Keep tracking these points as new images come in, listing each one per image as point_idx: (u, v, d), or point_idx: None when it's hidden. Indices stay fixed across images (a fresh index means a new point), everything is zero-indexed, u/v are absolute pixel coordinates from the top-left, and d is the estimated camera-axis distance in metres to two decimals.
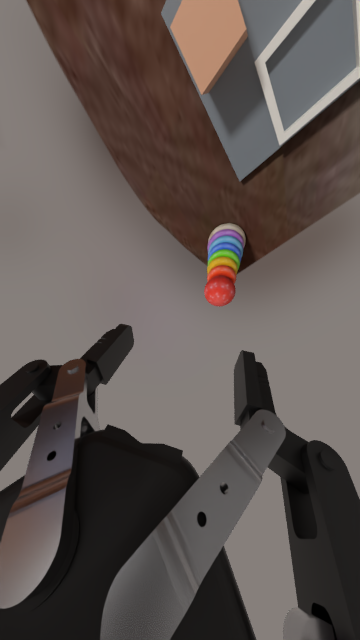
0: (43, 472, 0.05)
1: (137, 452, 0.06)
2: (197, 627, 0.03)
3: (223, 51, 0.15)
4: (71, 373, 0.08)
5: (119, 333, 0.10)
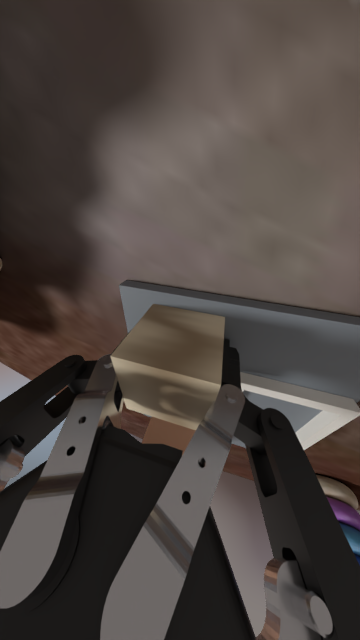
0: (61, 466, 0.05)
1: (137, 452, 0.06)
2: (197, 627, 0.03)
3: None
4: (108, 368, 0.08)
5: None
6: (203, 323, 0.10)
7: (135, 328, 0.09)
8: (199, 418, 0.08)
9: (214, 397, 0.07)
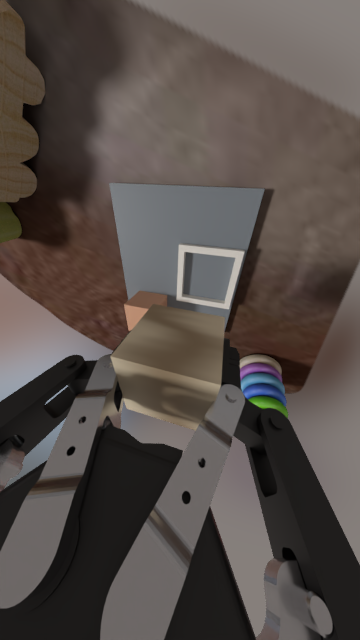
0: (61, 466, 0.05)
1: (137, 452, 0.06)
2: (197, 627, 0.03)
3: None
4: (108, 368, 0.08)
5: None
6: (203, 323, 0.10)
7: (135, 329, 0.09)
8: (199, 418, 0.08)
9: (214, 397, 0.07)
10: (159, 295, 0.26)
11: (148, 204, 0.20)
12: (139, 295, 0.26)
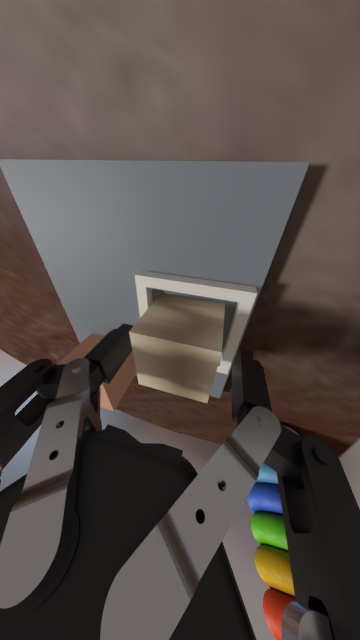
0: (46, 471, 0.05)
1: (137, 452, 0.06)
2: (197, 627, 0.03)
3: (102, 394, 0.14)
4: (75, 372, 0.08)
5: (122, 332, 0.11)
6: (206, 308, 0.11)
7: (147, 312, 0.10)
8: (203, 388, 0.10)
9: (216, 365, 0.08)
10: None
11: (73, 200, 0.10)
12: (87, 344, 0.16)
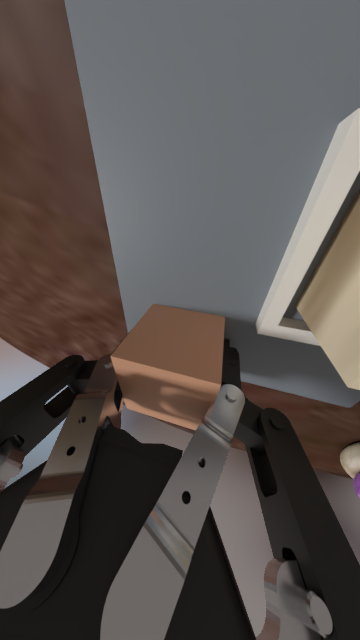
0: (61, 466, 0.05)
1: (137, 452, 0.06)
2: (197, 627, 0.03)
3: (202, 405, 0.08)
4: (108, 367, 0.08)
5: None
6: None
7: None
8: None
9: None
10: (206, 318, 0.10)
11: None
12: (154, 318, 0.10)
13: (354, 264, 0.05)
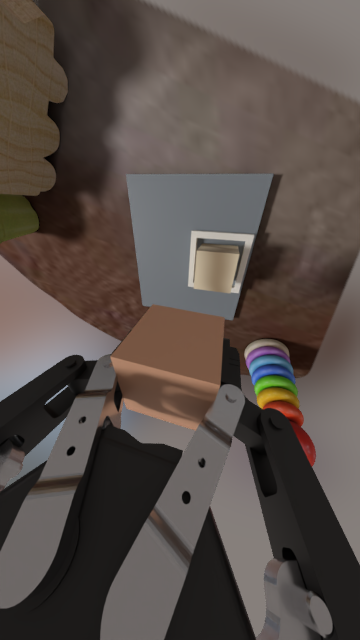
0: (61, 466, 0.05)
1: (137, 452, 0.06)
2: (197, 627, 0.03)
3: (201, 406, 0.08)
4: (108, 367, 0.08)
5: None
6: (228, 246, 0.21)
7: (200, 247, 0.21)
8: (229, 281, 0.20)
9: (236, 262, 0.19)
10: (205, 318, 0.10)
11: (162, 193, 0.21)
12: (154, 319, 0.10)
13: None
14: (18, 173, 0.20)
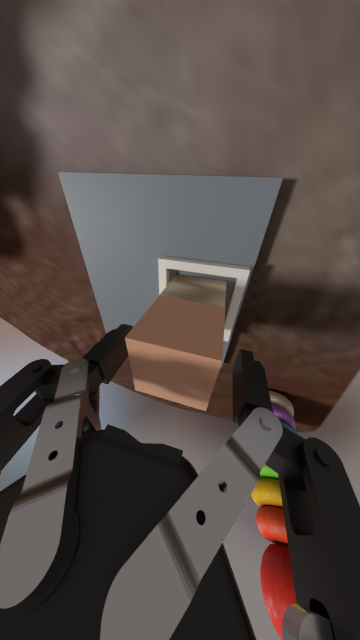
0: (45, 472, 0.05)
1: (137, 452, 0.06)
2: (197, 627, 0.03)
3: (204, 382, 0.09)
4: (74, 372, 0.08)
5: (121, 333, 0.11)
6: (212, 283, 0.14)
7: (169, 285, 0.14)
8: None
9: None
10: (208, 308, 0.11)
11: (114, 202, 0.14)
12: (161, 308, 0.11)
13: None
14: None
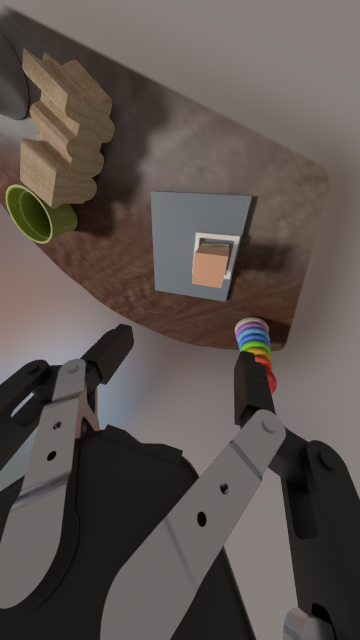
0: (44, 472, 0.05)
1: (137, 452, 0.06)
2: (197, 627, 0.03)
3: (222, 269, 0.24)
4: (71, 373, 0.08)
5: (119, 333, 0.10)
6: (222, 244, 0.30)
7: (202, 244, 0.29)
8: None
9: None
10: (221, 249, 0.27)
11: (176, 205, 0.30)
12: (203, 248, 0.26)
13: None
14: (75, 189, 0.28)
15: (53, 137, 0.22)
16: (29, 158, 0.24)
